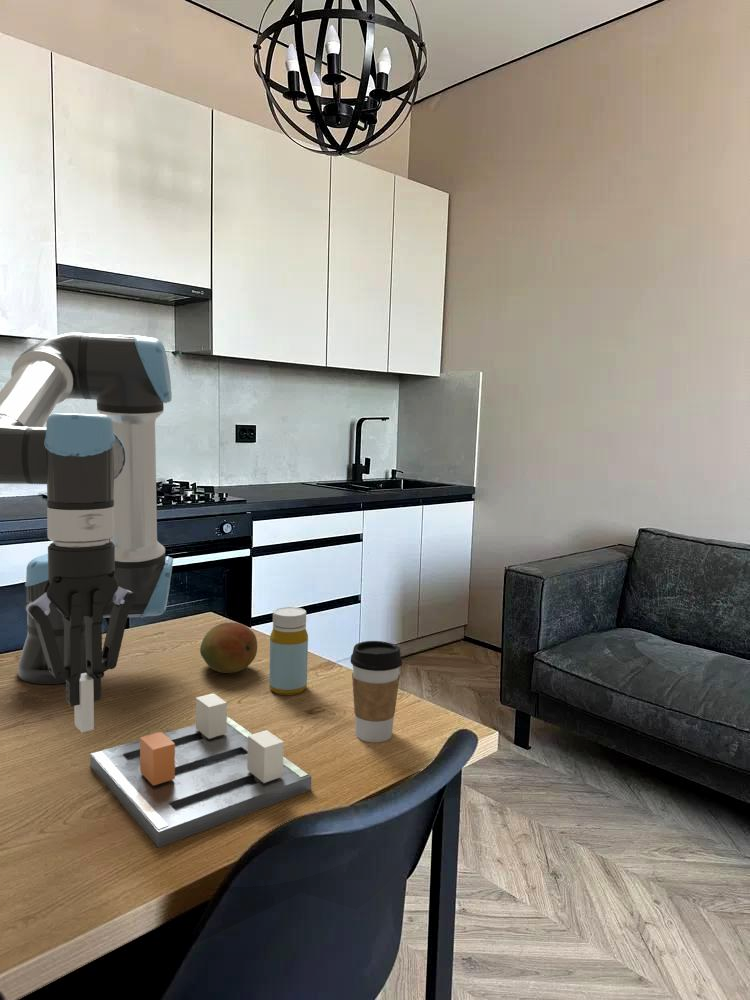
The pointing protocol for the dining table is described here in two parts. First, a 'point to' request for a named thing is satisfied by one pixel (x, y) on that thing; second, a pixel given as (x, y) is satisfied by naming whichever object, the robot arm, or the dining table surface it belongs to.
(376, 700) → the coffee cup
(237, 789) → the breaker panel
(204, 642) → the fruit
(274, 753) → the block
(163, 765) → the block
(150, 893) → the dining table surface
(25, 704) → the dining table surface
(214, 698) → the block
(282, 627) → the bottle
